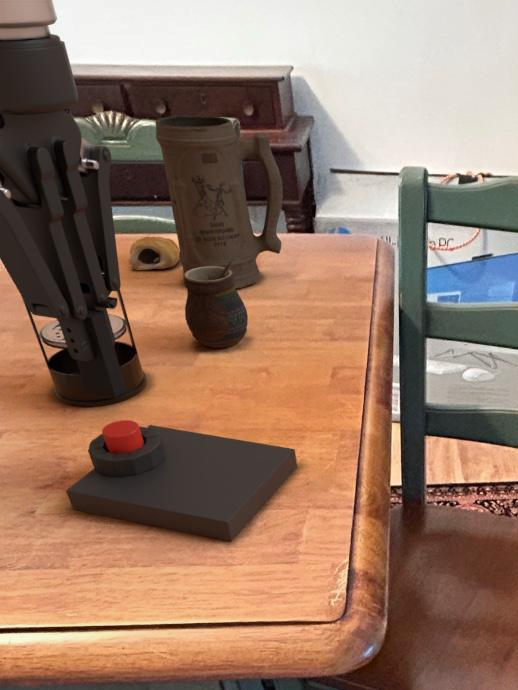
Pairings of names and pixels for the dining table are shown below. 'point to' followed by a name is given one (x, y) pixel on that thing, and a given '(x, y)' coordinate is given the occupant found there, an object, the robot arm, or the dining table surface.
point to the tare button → (122, 436)
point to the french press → (67, 369)
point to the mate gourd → (214, 307)
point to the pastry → (154, 253)
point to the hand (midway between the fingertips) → (106, 391)
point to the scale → (183, 481)
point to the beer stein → (217, 194)
